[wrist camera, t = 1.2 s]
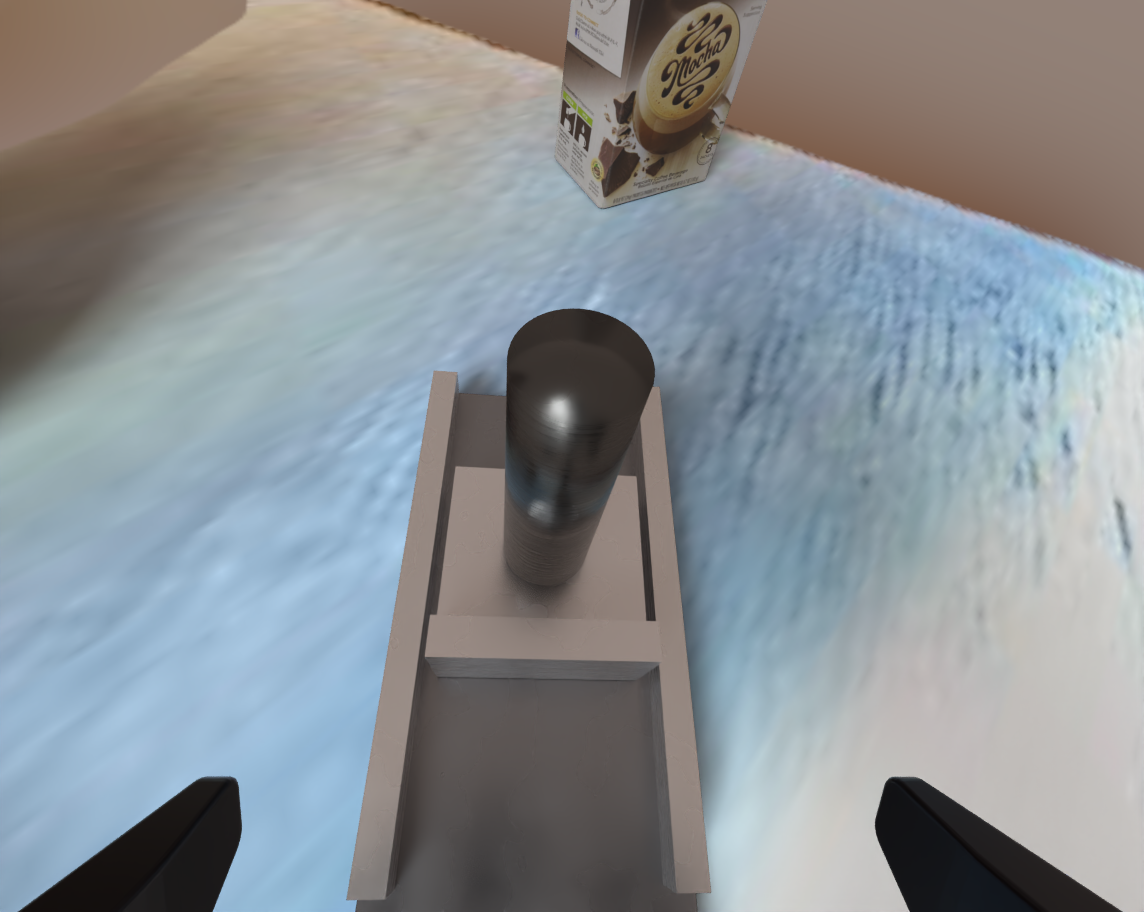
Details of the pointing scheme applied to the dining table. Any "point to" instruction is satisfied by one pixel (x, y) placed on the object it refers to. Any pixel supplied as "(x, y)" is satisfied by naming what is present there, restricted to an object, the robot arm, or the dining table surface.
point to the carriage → (553, 518)
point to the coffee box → (649, 91)
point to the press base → (529, 732)
